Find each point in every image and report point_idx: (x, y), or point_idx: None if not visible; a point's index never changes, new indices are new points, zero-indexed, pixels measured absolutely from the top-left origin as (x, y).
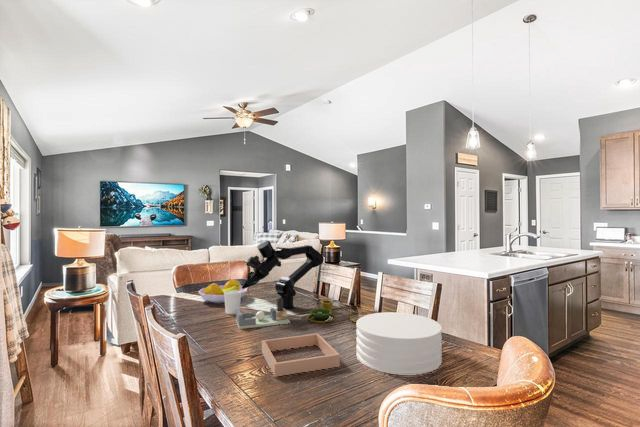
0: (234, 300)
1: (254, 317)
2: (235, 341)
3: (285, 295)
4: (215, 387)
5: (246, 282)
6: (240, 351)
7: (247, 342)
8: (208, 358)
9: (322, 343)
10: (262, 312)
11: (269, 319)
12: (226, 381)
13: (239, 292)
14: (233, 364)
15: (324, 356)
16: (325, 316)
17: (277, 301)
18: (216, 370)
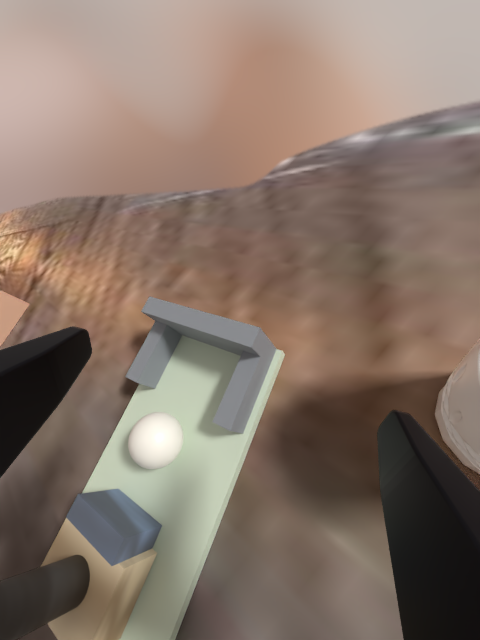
0: (455, 384)
1: (229, 445)
2: (112, 275)
3: None
4: (30, 210)
5: (470, 580)
6: (67, 268)
7: (84, 298)
8: (96, 211)
9: None
10: (128, 443)
11: (143, 488)
12: (27, 224)
13: None
14: (46, 242)
15: None
16: None
17: (14, 581)
18: (56, 217)
